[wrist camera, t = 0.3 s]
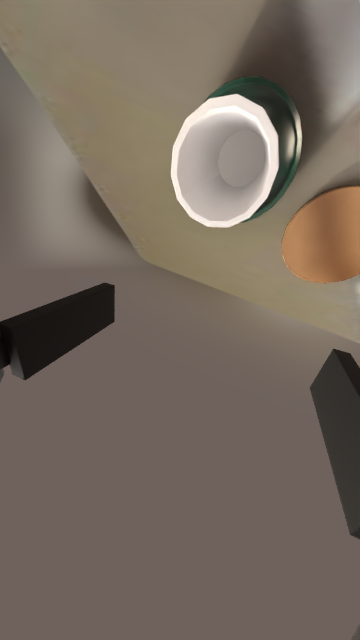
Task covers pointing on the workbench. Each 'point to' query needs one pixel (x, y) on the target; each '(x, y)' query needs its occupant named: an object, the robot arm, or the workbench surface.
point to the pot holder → (325, 237)
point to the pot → (284, 123)
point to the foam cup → (225, 161)
